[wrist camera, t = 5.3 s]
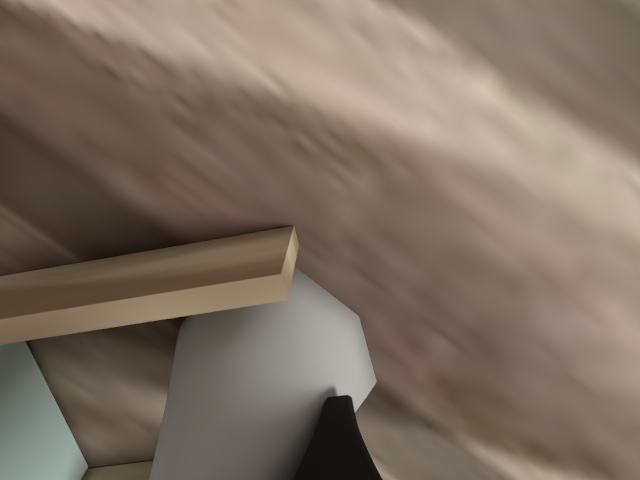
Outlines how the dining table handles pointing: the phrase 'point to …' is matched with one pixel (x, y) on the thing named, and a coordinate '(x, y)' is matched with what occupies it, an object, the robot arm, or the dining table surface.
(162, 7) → the dining table surface
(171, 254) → the lane
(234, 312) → the flask
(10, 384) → the spring plate
